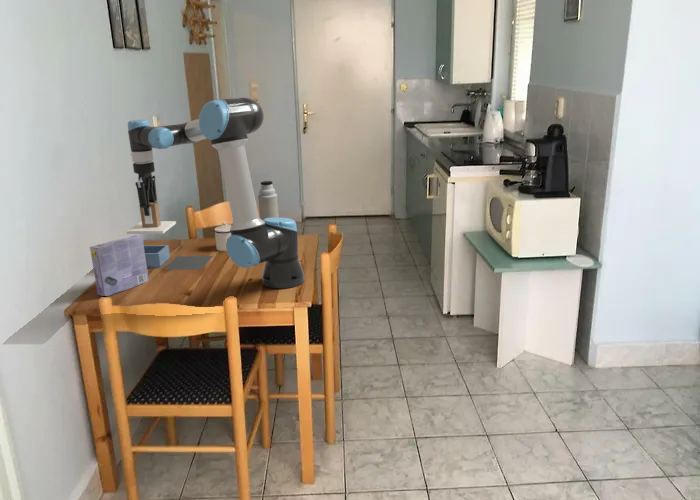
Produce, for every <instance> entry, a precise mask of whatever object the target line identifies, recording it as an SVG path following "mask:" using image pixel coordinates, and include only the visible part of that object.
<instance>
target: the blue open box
mask: <svg viewBox="0 0 700 500" xmlns="http://www.w3.org/2000/svg"><path fill="white" fill-rule="evenodd" d="M169 246H170V245H169V244H168V245H167V244H163V245H162V244H160V245H157V244H155V245H153V244H151V245H145V244H144V251H145V258H146V265H147V269H155V268H156V269H157V268H158V269H159V268H162V267H163V266H164V265H165V264H166V263H167V262H169V260H170V259H171V255H170V248H169Z"/></svg>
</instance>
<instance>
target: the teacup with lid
mask: <svg viewBox="0 0 700 500" xmlns="http://www.w3.org/2000/svg"><path fill="white" fill-rule="evenodd" d="M231 226H232V224H229V223H228V222H227V221H223V222H222V223H221V224H220V225H219V226H216V227H215V228H214V230H213V232H214V236H215V237H214V238H215V245H216V250H217V251H219V252H227V249H226V242H227V239H228V238H229V237H230V236H231V232H230V228H231Z"/></svg>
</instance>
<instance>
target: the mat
mask: <svg viewBox="0 0 700 500" xmlns="http://www.w3.org/2000/svg"><path fill="white" fill-rule="evenodd" d="M213 257H214V256H213V255H201V256H200V255H195V256H194V255H183V256H182V255H177V256H175V258H174V259H173V260H171V261H170V263H168V264H167V265H166V266H165V268H163V270H164V271H166V270H167V271H175V270H177V271H178V270H179V271H180V270H182V271H183V270H184V271H185V270H186V271H187V270H190V271H192V270H203V268H204V267H205V266H206V265H207V264H208V263H209V261H210V260H212V258H213Z"/></svg>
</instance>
